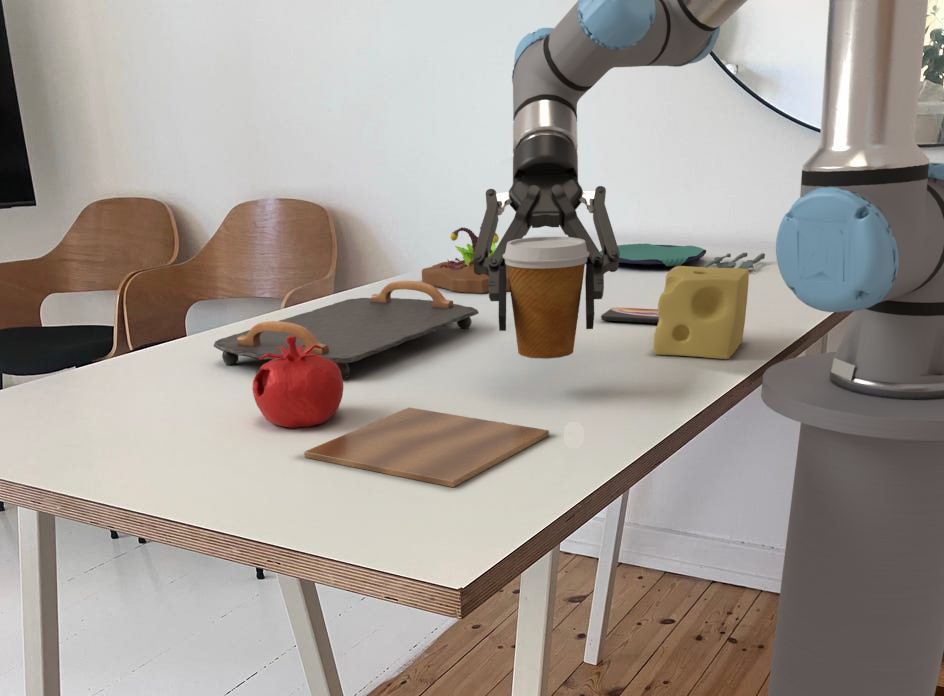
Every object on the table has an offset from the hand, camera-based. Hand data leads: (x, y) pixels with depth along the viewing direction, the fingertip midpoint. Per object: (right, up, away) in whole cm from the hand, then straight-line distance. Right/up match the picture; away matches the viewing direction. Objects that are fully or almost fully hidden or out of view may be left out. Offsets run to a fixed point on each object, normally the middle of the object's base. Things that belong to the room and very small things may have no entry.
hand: (546, 322), depth 121 cm
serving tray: (-24, +6, +32) cm, 41 cm away
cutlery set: (+31, +35, +85) cm, 97 cm away
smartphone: (+19, +13, +42) cm, 48 cm away
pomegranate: (-27, -11, +1) cm, 29 cm away
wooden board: (-13, -15, -8) cm, 21 cm away
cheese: (+23, +4, +26) cm, 34 cm away
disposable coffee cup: (0, -2, +5) cm, 5 cm away
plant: (-5, +28, +74) cm, 79 cm away
